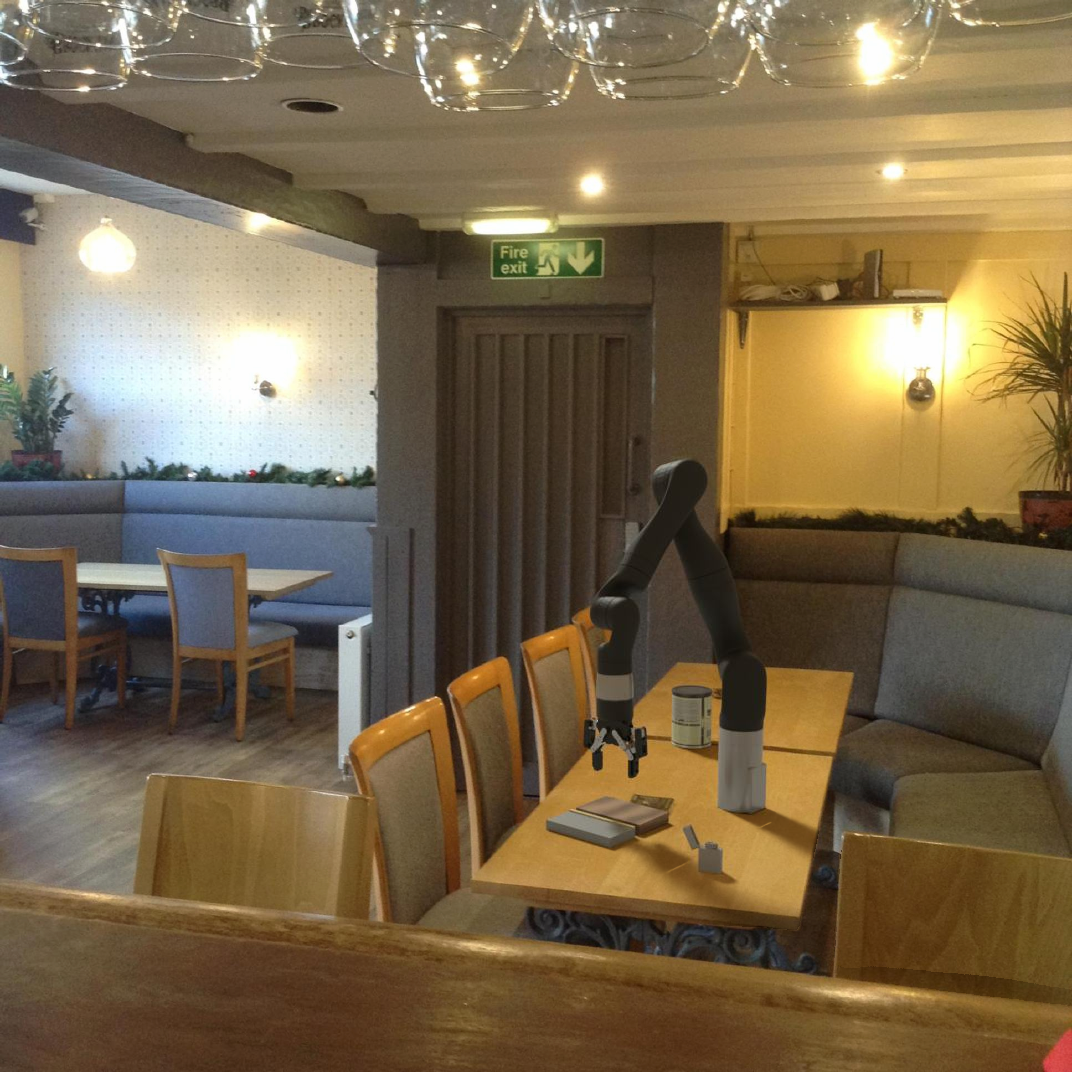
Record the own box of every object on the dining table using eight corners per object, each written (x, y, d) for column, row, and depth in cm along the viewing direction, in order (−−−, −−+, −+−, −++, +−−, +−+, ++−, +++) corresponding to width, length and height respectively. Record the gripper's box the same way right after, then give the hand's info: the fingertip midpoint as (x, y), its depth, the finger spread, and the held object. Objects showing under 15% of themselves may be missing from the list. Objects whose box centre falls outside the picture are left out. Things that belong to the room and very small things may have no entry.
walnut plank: (668, 821, 239) (668, 812, 239) (639, 834, 231) (639, 825, 231) (605, 805, 249) (605, 795, 249) (576, 817, 242) (576, 807, 242)
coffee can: (670, 737, 306) (671, 684, 305) (710, 739, 305) (711, 685, 304) (670, 748, 296) (671, 693, 295) (712, 749, 295) (713, 694, 294)
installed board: (635, 837, 230) (635, 826, 230) (610, 848, 224) (610, 836, 224) (571, 819, 241) (571, 808, 241) (546, 829, 235) (546, 818, 235)
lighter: (722, 870, 213) (723, 827, 213) (720, 874, 212) (721, 830, 211) (683, 865, 216) (684, 823, 215) (681, 868, 214) (682, 825, 213)
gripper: (654, 696, 235) (654, 775, 237) (597, 686, 244) (598, 763, 246) (633, 702, 229) (633, 784, 231) (575, 693, 239) (575, 771, 240)
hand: (615, 773), depth 238 cm, fingers open, 8 cm apart
